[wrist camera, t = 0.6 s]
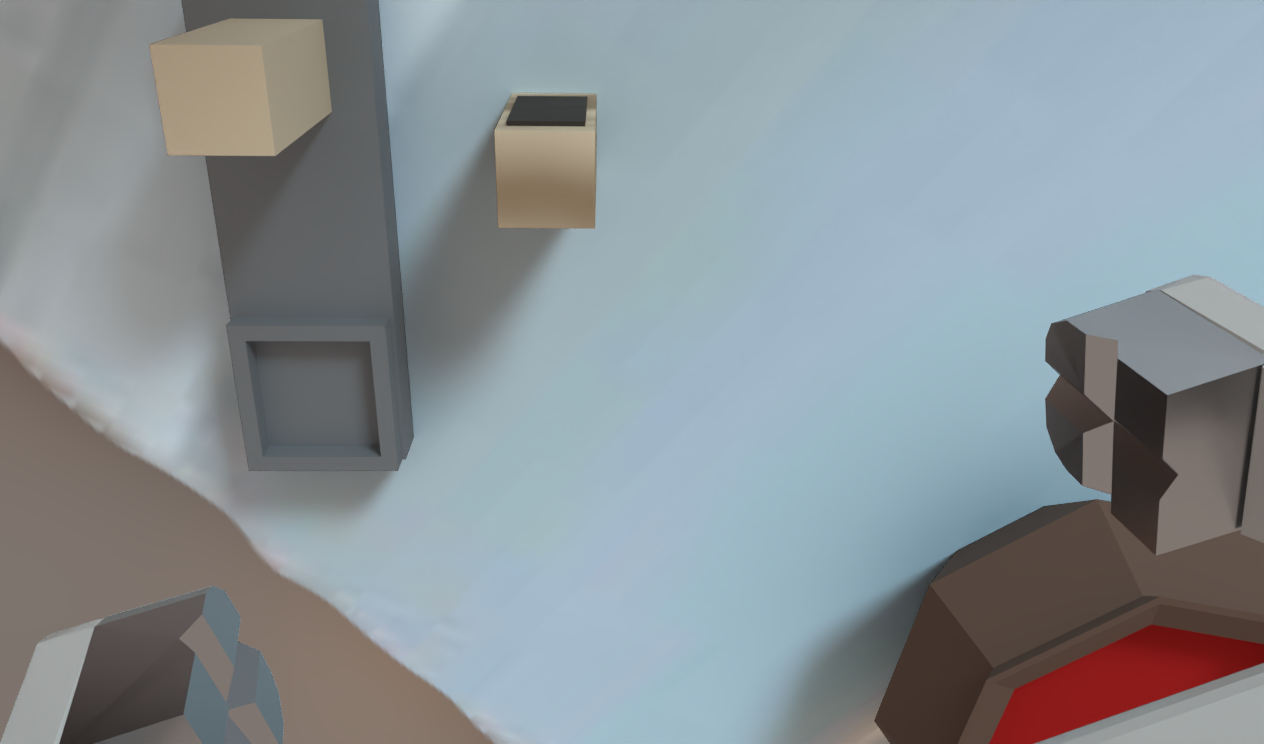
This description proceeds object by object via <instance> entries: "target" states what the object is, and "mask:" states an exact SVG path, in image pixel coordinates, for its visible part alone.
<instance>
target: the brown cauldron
mask: <svg viewBox="0 0 1264 744" xmlns="http://www.w3.org/2000/svg"><path fill="white" fill-rule="evenodd" d="M1262 663H1264V543H1262V542H1260V541H1257V540H1255V539H1252V538H1250V537H1247V536H1245V535H1242V534H1241V530H1238V531H1235V532H1231V533H1228V534H1225V535H1222V536H1218V537H1215V538H1212V539H1209V540H1205V541H1202V542H1199V543H1196V544H1192V545H1189V546H1186V547H1183V548H1179V549H1176V550H1173V551H1170V552H1167V553H1163V554H1160V555H1157V556H1156V555H1155V554H1153V553H1152V552H1151V551H1150V550H1149V549H1148V548H1147V547H1146V546H1145V545H1144V544H1143V543H1142V542H1141V541H1140V540H1139V539H1138V538H1137V537H1136V536H1134V535H1133V534H1132V533H1131V532H1130V531H1129V530H1128V529H1127V528H1126V527H1125V526H1124V525H1123V524H1122V523H1121V522H1120V521H1119V520H1118V519H1117V518H1115V517H1114V516H1113V515H1112V514H1111V502H1109V501H1103V500H1098V499H1096V500H1089V501H1081V502H1073V503H1066V504H1058V505H1050V506H1043V507H1042V508H1040V509H1038V510H1036V511H1034V512H1032V513H1030V514H1028V515H1026V516H1024V517H1022V518H1020V519H1018V520H1016V521H1014V522H1012V523H1010V524H1008V525H1006V526H1004V527H1002V528H1000V529H998V530H996V531H995V532H993V533H991V534H989V535H987V536H985V537H983V538H981V539H979V540H977V541H975V542H973V543H971V544H969V545H967V546H965V547H963V548H961V549H959V550H957V552H956V553H955V554H954V555H953V556H952V558H951V559H950V560H949V561H948V563H947V564H946V565H945V566H944V567H943V569H942V570H941V571H940V572H939V574H938V575H937V576H936V577H935V578H934V580H933V581H932V582H931V583H930V585H929V587H928V590H927V592H926V595H925V597H924V599H923V602H922V604H921V607H920V609H919V612H918V614H917V617H916V619H915V622H914V624H913V627H912V629H911V631H910V634H909V636H908V639H907V641H906V644H905V646H904V649H903V651H902V654H901V656H900V659H899V661H898V663H897V666H896V668H895V671H894V673H893V676H892V678H891V681H890V683H889V686H888V688H887V691H886V693H885V695H884V698H883V700H882V703H881V705H880V708H879V710H878V713H877V715H876V718H875V720H874V721H875V722H876V724H877V725H878V727H879V728H880V729H881V731H882V732H883V734H884V735H885V737H886V738H887V739H888V741H889V742H890V744H1034V743H1037V742H1040V741H1043V740H1046V739H1048V738H1051V737H1054V736H1057V735H1060V734H1063V733H1065V732H1068V731H1071V730H1074V729H1077V728H1080V727H1083V726H1085V725H1088V724H1091V723H1094V722H1097V721H1100V720H1102V719H1105V718H1108V717H1111V716H1114V715H1117V714H1119V713H1122V712H1125V711H1128V710H1131V709H1134V708H1137V707H1139V706H1142V705H1145V704H1148V703H1151V702H1154V701H1156V700H1159V699H1162V698H1165V697H1168V696H1171V695H1173V694H1176V693H1179V692H1182V691H1185V690H1188V689H1191V688H1193V687H1196V686H1199V685H1202V684H1205V683H1208V682H1210V681H1213V680H1216V679H1219V678H1222V677H1225V676H1227V675H1230V674H1233V673H1236V672H1239V671H1242V670H1245V669H1247V668H1250V667H1253V666H1256V665H1259V664H1262Z"/></svg>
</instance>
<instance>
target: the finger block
mask: <svg viewBox="0 0 1264 744" xmlns="http://www.w3.org/2000/svg"><path fill="white" fill-rule="evenodd" d="M494 134H495V159H496V184H497V209H498V228H595V209H596V94H582V93H512V95H511V97H510V99H509V101H508V103H507V105H506V107H505V110H504V112H503V114H502V116H501V118H500V120H499V122H498V124H497V126H496V128H495V130H494Z"/></svg>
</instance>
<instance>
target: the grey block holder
mask: <svg viewBox="0 0 1264 744" xmlns="http://www.w3.org/2000/svg"><path fill="white" fill-rule="evenodd" d="M182 7H183V13H184V20H185V26H186V33H183V34H180V35H177V36H174V37H171V38H167V39H164V40H161V41H158V42H155V43H152V44H149V47H150V52H151V58H152V64H153V70H154V76H155V82H156V88H157V94H158V100H159V106H160V112H161V118H162V124H163V130H164V135H165V141H166V147H167V153H168V155H205V156H206V163H207V169H208V176H209V182H210V189H211V195H212V202H213V208H214V215H215V221H216V228H217V234H218V241H219V247H220V254H221V260H222V267H223V273H224V280H225V286H226V293H227V299H228V306H229V312H230V319H231V321H230V322H229V323H228V324H227V325H226V327H227V334H228V340H229V346H230V353H231V359H232V366H233V372H234V378H235V385H236V391H237V398H238V404H239V410H240V417H241V423H242V430H243V436H244V442H245V449H246V455H247V462H248V468H249V471H398V469H399V466H400V464H401V461H402V459H406V457H407V455H408V452H409V449H410V446H411V443H412V441H413V438H414V434H413V422H412V410H411V397H410V385H409V373H408V360H407V348H406V336H405V323H404V311H403V299H402V286H401V274H400V262H399V249H398V237H397V225H396V212H395V200H394V188H393V175H392V163H391V151H390V139H389V126H388V114H387V102H386V89H385V77H384V65H383V52H382V40H381V28H380V15H379V3H378V0H182Z"/></svg>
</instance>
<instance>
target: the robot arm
mask: <svg viewBox="0 0 1264 744" xmlns="http://www.w3.org/2000/svg"><path fill="white" fill-rule="evenodd" d="M1045 361H1046V362H1047V363H1048V364H1049V365H1050V366H1051V367H1052V368H1053V369H1054V370H1055V371H1056V372H1057V373H1058V374H1059V375H1060V376H1059V377H1058V379H1057V381H1056V382H1055V384H1054V385H1053V387H1052V389H1051V390H1050V392H1049V394H1048V395H1047V397H1046V399H1045V403H1046V426H1047V430H1048V433H1049V435H1050V438H1051V441H1052V444H1053V447H1054V450H1055V453H1056V454H1057V456H1058V457H1059V459H1060V460H1061V462H1062V463H1063V465H1064V467H1065V468H1066V470H1067V471H1068V472H1069V473H1070V474H1071V475H1072V476H1073V477H1074V478H1075V479H1076V480H1077V481H1078V482H1079V483H1080V484H1081V485H1082V486H1085V487H1088V488H1092V489H1095V490H1098V491H1101V492H1105V493H1108V494H1111V514H1112V515H1113V516H1114V517H1115V518H1117V519H1118V520H1119V521H1120V522H1121V523H1122V524H1123V525H1124V526H1125V527H1126V528H1127V529H1128V530H1129V531H1130V532H1131V533H1132V534H1133V535H1134V536H1136V537H1137V538H1138V539H1139V540H1140V541H1141V542H1142V543H1143V544H1144V545H1145V546H1146V547H1147V548H1148V549H1149V550H1150V551H1151V552H1152V553H1153V554H1155V555H1156V556H1157V555H1160V554H1163V553H1167V552H1170V551H1173V550H1176V549H1179V548H1183V547H1186V546H1189V545H1192V544H1196V543H1199V542H1202V541H1205V540H1209V539H1212V538H1215V537H1218V536H1222V535H1225V534H1228V533H1231V532H1235V531H1238V530H1241V534H1242V535H1245V536H1247V537H1250V538H1252V539H1255V540H1257V541H1260V542H1262V543H1264V307H1263V306H1261V305H1259V304H1257V303H1255V302H1254V301H1252V300H1250V299H1248V298H1247V297H1245V296H1243V295H1241V294H1240V293H1238V292H1236V291H1234V290H1233V289H1231V288H1229V287H1227V286H1226V285H1224V284H1222V283H1220V282H1219V281H1217V280H1215V279H1213V278H1212V277H1208V276H1200V275H1191V276H1188V277H1186V278H1183V279H1180V280H1177V281H1174V282H1171V283H1168V284H1165V285H1163V286H1160V287H1157V288H1154V289H1151V290H1148V291H1146V293H1144V294H1141V295H1138V296H1135V297H1131V298H1128V299H1125V300H1122V301H1119V302H1116V303H1113V304H1110V305H1107V306H1104V307H1101V308H1098V309H1095V310H1091V311H1088V312H1085V313H1082V314H1079V315H1076V316H1073V317H1070V318H1067V319H1064V320H1061V321H1058V322H1055V323H1051V326H1050V328H1049V331H1048V334H1047V337H1046V350H1045ZM239 626H240V615H239V613H238V612H237V610H236V609H235V607H234V605H233V604H232V602H231V600H230V599H229V597H228V595H227V594H226V592H225V591H224V590H222V589H220V588H217V587H215V586H210V587H207V588H203V589H200V590H197V591H193V592H190V593H186V594H183V595H179V596H176V597H173V598H169V599H166V600H162V601H159V602H155V603H152V604H149V605H145V606H142V607H138V608H135V609H131V610H129V611H125V612H121V613H118V614H115V615H111V616H107V617H105V618H104V619H101V620H94V621H91V622H88V623H85V624H82V625H79V626H75V627H72V628H69V629H66V630H62V631H59V632H56V633H53V634H50V635H48V636H47V637H46V638H44V639H43V640H42V641H40V642H39V643H38V644H37V646H36V648H35V650H34V653H33V656H32V658H31V661H30V664H29V666H28V669H27V672H26V674H25V677H24V680H23V682H22V685H21V688H20V690H19V693H18V696H17V699H16V701H15V704H14V707H13V709H12V712H11V715H10V718H9V720H8V723H7V725H6V728H5V731H4V734H3V736H2V739H1V742H0V744H283V725H284V724H283V717H282V711H281V705H280V698H279V693H278V690H277V687H276V685H275V682H274V679H273V676H272V674H271V671H270V669H269V667H268V665H267V663H266V661H265V659H264V658H263V656H262V654H261V652H260V651H259V650H256V649H254V648H252V647H250V646H247V645H245V644H243V643H241V642H239V641H238V633H239ZM1034 744H1264V663H1262V664H1259V665H1256V666H1253V667H1250V668H1247V669H1245V670H1242V671H1239V672H1236V673H1233V674H1230V675H1227V676H1225V677H1222V678H1219V679H1216V680H1213V681H1210V682H1208V683H1205V684H1202V685H1199V686H1196V687H1193V688H1191V689H1188V690H1185V691H1182V692H1179V693H1176V694H1173V695H1171V696H1168V697H1165V698H1162V699H1159V700H1156V701H1154V702H1151V703H1148V704H1145V705H1142V706H1139V707H1137V708H1134V709H1131V710H1128V711H1125V712H1122V713H1119V714H1117V715H1114V716H1111V717H1108V718H1105V719H1102V720H1100V721H1097V722H1094V723H1091V724H1088V725H1085V726H1083V727H1080V728H1077V729H1074V730H1071V731H1068V732H1065V733H1063V734H1060V735H1057V736H1054V737H1051V738H1048V739H1046V740H1043V741H1040V742H1037V743H1034Z"/></svg>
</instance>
